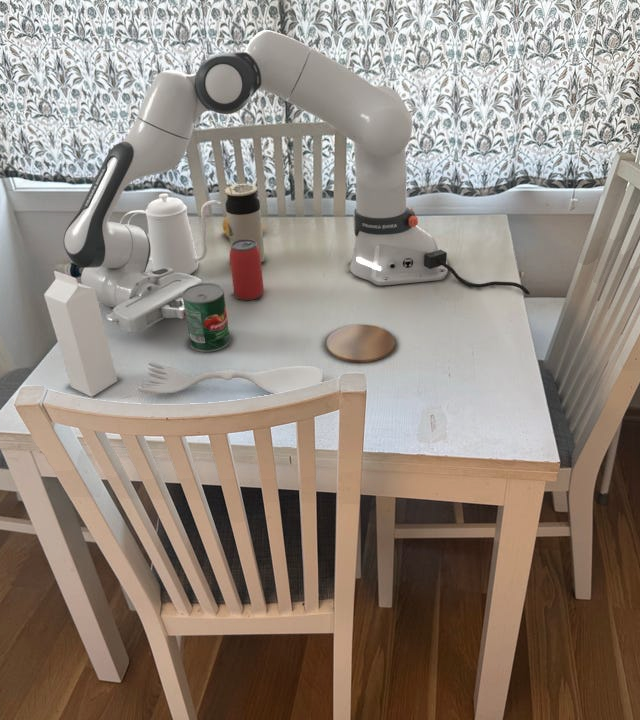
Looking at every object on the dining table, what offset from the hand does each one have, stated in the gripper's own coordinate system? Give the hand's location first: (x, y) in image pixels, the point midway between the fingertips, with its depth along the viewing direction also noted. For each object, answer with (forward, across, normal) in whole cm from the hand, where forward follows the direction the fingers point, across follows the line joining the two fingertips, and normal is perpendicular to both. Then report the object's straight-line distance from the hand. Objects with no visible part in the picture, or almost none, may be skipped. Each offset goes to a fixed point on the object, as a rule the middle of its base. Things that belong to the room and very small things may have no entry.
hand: (187, 312), depth 134 cm
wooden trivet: (+31, +15, +5) cm, 35 cm away
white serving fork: (+20, -10, +5) cm, 23 cm away
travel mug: (-14, +33, +5) cm, 36 cm away
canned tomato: (+5, 0, +5) cm, 7 cm away
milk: (-2, -22, +5) cm, 23 cm away
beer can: (-1, +20, +5) cm, 20 cm away
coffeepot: (-25, +20, +5) cm, 32 cm away
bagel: (-26, +45, +5) cm, 53 cm away
